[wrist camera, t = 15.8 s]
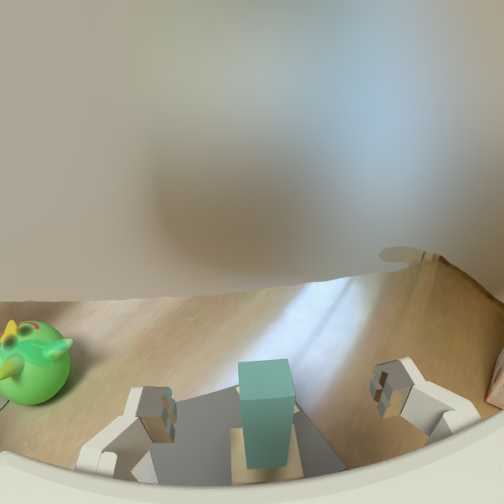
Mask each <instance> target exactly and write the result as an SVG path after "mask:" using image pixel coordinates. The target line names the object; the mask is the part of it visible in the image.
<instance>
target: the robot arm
mask: <svg viewBox="0 0 504 504" xmlns="http://www.w3.org/2000/svg"><path fill="white" fill-rule="evenodd" d="M373 372H374V374H375V376H374V377H373V378H372V379H371V383H370V391H371V395H372V397H373V400H375V401H377V402H378V406H377V408H378V411H379V413H380V415H381V417H382V419H385V418H389V417H393V416H397V415H400V414H401V416H402V417H403V418H405V419H406V420H407V421H409V422H410V423H411V424H413V425H414V426H416V427H417V428H418V429H420V430H421V431H423V432H424V433H425V434H427V435H428V436H429V439H428V440H427V442H426V443H425V445H424V447H422V448H420V449H417V450H414V451H411V452H409V453H406V454H403V455H400V456H397V457H394V458H391V459H387V460H384V461H381V462H377V463H374V464H370V465H366V466H363V467H359V468H355V469H351V470H346V471H342V472H338V473H333V474H328V475H323V476H317V477H312V478H305V479H299V480H292V481H284V482H276V483H266V484H254V485H238V486H181V485H165V484H153V483H143V482H138V480H137V479H136V478H135V477H134V476H133V474H132V473H131V472H130V471H131V470H132V469H133V468H134V467H135V465H136V464H137V463H138V462H139V461H140V460H141V458H142V457H143V456H144V455H145V454H146V453H147V451H148V450H149V449H150V448H151V447H152V445H153V443H174V437H175V428H174V426H173V425H174V424H175V423H176V422H177V407H176V403H175V400H174V399H172V398H171V396H172V392H171V389H170V388H169V387H151V386H133V387H132V388H131V390H130V393H129V396H128V400H127V403H126V406H125V410H124V413H123V416H118V417H117V418H116V419H115V420H114V421H112V422H111V423H110V424H109V425H108V426H106V427H105V428H104V429H103V430H102V431H100V432H99V433H98V434H97V435H96V436H94V437H93V438H92V439H91V440H90V441H88V442H87V443H86V444H85V445H83V446H82V448H81V451H80V454H79V457H78V460H77V464H76V467H75V470H71V469H67V468H63V467H59V466H56V465H52V464H49V463H46V462H42V461H39V460H36V459H33V458H30V457H27V456H24V455H21V454H19V453H16V452H13V451H10V450H4V451H2V452H0V504H504V409H502V410H501V411H499V412H497V413H495V414H494V415H492V416H490V417H488V418H486V419H484V420H482V418H481V417H480V415H479V413H478V412H477V410H476V409H475V407H474V406H473V404H472V403H471V402H470V401H469V400H467V399H465V398H463V397H460V396H458V395H456V394H454V393H452V392H450V391H448V390H446V389H444V388H442V387H440V386H438V385H436V384H434V383H432V382H430V381H427V382H426V381H425V379H424V378H423V376H422V375H421V373H420V372H419V370H418V369H417V367H416V366H415V364H414V363H413V361H412V360H411V358H409V357H406V358H402V359H398V360H394V361H389V362H385V363H381V364H377V365H376V366H375V367H374V371H373ZM7 401H8V399H7V398H5V397H4V396H3V395H2V394H1V393H0V409H1V408H2V407H3V406H4V405H5V404H6V403H7Z"/></svg>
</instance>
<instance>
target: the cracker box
mask: <svg viewBox="0 0 504 504" xmlns="http://www.w3.org/2000/svg"><path fill="white" fill-rule="evenodd" d="M485 402H487V403H489V404H491V405H493V406H495V407H498V408H500V409H504V347H503V349H502V351H501V353H500V355H499V357H498V358H497V361H496V365H495V369H494V372H493V376H492V379H491V383H490V386H489V390H488V393H487V396H486V399H485Z"/></svg>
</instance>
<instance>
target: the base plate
mask: <svg viewBox="0 0 504 504" xmlns="http://www.w3.org/2000/svg"><path fill="white" fill-rule="evenodd" d="M176 407H177V422H176V423H175V424H174V425H173V426H174V428H175V437H174V443H153V445H152V447H151V448H150V449H149V450H150V454H151V457H152V461H153V465H154V468H155V471H156V475H157V478H158V481H159V484H165V485H181V486H238V485H254V484H266V483H276V482H284V481H292V480H299V479H305V478H312V477H317V476H323V475H328V474H333V473H338V472H342V471H344V470H346V468H347V467H346V466H345V465H344V463H343V462H342V461H341V460H340V458H339V457H338V456H337V455H336V453H335V452H334V451H333V449H332V448H331V447H330V446H329V444H328V443H327V442H326V440H325V439H324V438H323V437H322V435H321V434H320V433H319V431H318V430H317V429H316V427H315V426H314V425H313V423H312V422H311V421H310V419H309V418H308V417H307V415H306V414H305V413H304V411H303V410H302V409H301V407H300V406H299V405H298V403H297V402H296V401H295V406H294V414H293V422H292V429H291V437H290V444H289V451H288V458H287V464H286V466H284V467H274V468H263V469H248V470H247V464H246V455H245V446H244V437H243V428H242V418H241V408H240V395H239V385H236V386H233V387H229V388H226V389H223V390H220V391H216V392H213V393H209V394H206V395H202V396H199V397H195V398H191V399H188V400H184V401H180V402H176Z"/></svg>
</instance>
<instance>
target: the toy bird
mask: <svg viewBox="0 0 504 504" xmlns="http://www.w3.org/2000/svg"><path fill="white" fill-rule="evenodd" d="M73 343H74V340H73V339H72V338H65V339H64V338H63V337H62V335H61V334H60V333H59V332H58V331H57V330H56V329H55V328H53V327H52V326H50V325H48V324H46V323H43V322H39V321H25V322H20V323H17V324H16V323H15V321H14V320H10V321H9V322H8V324H7V326H6V330H5V331H4V332H2V333H1V334H0V393H1V394H2V395H3V396H4V397H5V398H7V399H8V400H10V401H12V402H14V403H16V404H20V405H35V404H39V403H42V402H44V401H46V400H48V399H50V398H51V397H53V396H54V395H55V394H56V393H57V392H58V391H59V390H60V389H61V388H62V386H63V385H64V384H65V382H66V380H67V378H68V376H69V373H70V368H71V355H70V351H69V349H70V348H71V346H72V345H73Z"/></svg>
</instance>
